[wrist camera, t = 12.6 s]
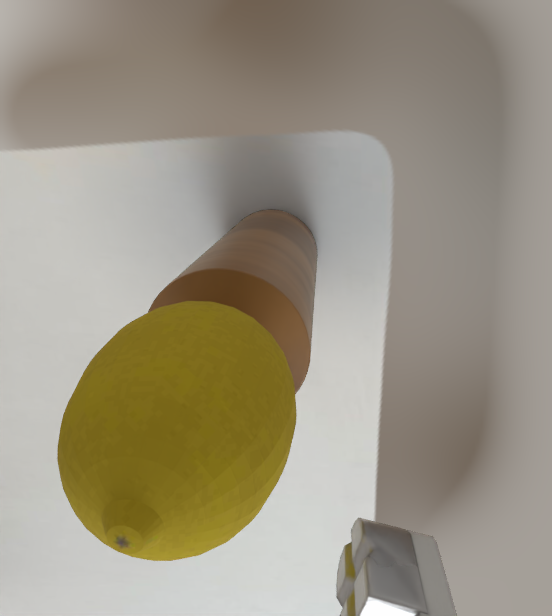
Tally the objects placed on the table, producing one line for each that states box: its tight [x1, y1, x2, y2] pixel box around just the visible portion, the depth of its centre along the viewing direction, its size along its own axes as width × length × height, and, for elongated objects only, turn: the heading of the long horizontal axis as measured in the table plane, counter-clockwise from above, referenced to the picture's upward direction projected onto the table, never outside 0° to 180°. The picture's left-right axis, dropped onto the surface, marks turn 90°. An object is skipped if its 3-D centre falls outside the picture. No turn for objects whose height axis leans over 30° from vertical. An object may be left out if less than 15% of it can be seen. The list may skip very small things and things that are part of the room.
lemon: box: [58, 301, 296, 561], centre depth 11 cm, size 6×6×8 cm
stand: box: [148, 210, 317, 394], centre depth 21 cm, size 6×6×14 cm
